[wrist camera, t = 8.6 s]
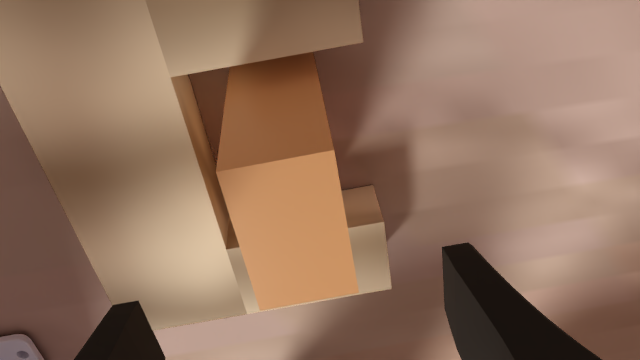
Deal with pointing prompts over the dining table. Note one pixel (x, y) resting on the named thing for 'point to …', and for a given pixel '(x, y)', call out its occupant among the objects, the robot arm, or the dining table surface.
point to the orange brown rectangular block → (284, 183)
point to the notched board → (160, 138)
